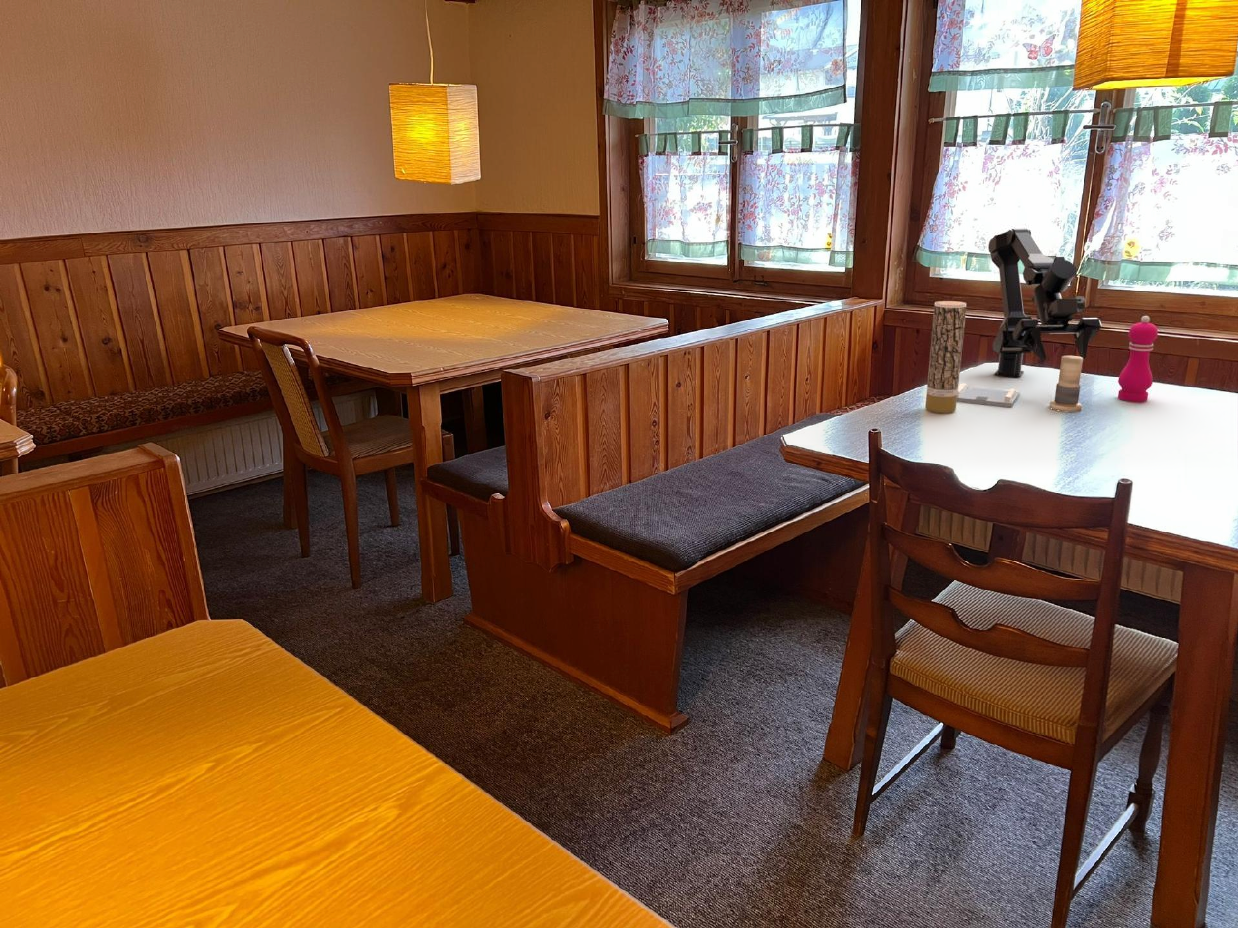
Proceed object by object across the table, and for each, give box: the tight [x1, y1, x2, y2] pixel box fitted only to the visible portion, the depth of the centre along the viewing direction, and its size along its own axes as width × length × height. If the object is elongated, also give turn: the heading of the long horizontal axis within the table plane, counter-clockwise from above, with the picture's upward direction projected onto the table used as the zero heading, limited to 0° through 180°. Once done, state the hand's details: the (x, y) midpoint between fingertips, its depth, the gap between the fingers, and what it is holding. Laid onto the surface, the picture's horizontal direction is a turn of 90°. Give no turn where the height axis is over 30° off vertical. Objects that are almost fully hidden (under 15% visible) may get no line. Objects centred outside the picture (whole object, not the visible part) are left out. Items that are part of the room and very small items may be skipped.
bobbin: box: [1049, 355, 1084, 413], centre depth 210 cm, size 7×7×12 cm
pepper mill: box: [1117, 315, 1159, 403], centre depth 215 cm, size 7×7×20 cm
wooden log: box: [925, 300, 967, 414], centre depth 208 cm, size 7×7×25 cm
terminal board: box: [957, 383, 1021, 408], centre depth 221 cm, size 12×14×2 cm
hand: (1064, 359), depth 212 cm, fingers open, 9 cm apart
